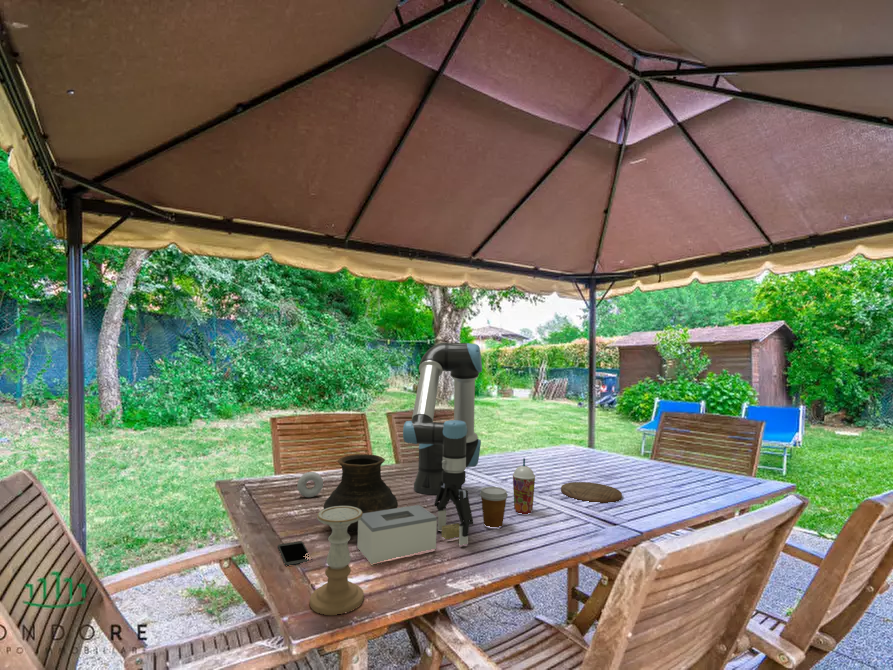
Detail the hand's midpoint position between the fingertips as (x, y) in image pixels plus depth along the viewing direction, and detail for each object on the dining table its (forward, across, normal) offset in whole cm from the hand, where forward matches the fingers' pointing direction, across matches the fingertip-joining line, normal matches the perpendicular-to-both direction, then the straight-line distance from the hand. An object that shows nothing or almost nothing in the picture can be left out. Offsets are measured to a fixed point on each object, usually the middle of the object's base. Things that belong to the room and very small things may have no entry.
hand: (452, 538), depth 140 cm
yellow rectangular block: (0, 0, 0) cm, 0 cm away
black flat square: (+1, -11, -46) cm, 47 cm away
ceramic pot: (0, -21, -23) cm, 31 cm away
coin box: (0, 0, -19) cm, 19 cm away
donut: (0, -60, -31) cm, 68 cm away
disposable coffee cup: (0, -3, +18) cm, 18 cm away
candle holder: (+1, +19, -42) cm, 46 cm away
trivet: (0, -15, +78) cm, 80 cm away
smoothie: (0, -9, +36) cm, 37 cm away
